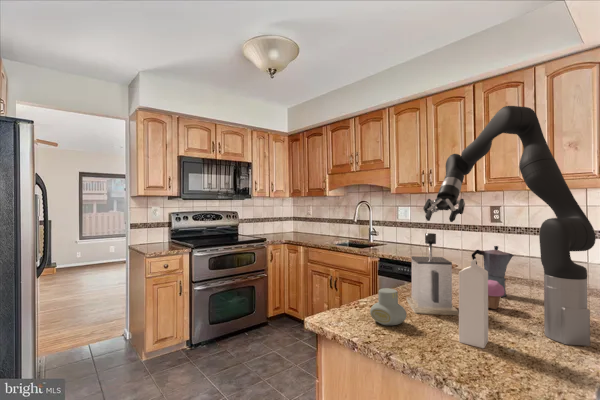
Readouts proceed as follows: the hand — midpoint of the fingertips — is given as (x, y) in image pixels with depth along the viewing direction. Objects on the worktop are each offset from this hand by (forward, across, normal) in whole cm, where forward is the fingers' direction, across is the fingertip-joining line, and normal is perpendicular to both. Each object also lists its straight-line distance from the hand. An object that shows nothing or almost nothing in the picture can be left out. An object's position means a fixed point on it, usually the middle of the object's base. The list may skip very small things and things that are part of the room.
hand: (438, 220), depth 120 cm
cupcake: (+18, +16, +27) cm, 36 cm away
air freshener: (+45, -4, -1) cm, 45 cm away
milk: (+42, +20, +2) cm, 47 cm away
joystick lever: (+26, 0, +15) cm, 30 cm away
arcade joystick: (+28, 0, +16) cm, 32 cm away
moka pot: (+3, +12, +41) cm, 43 cm away
